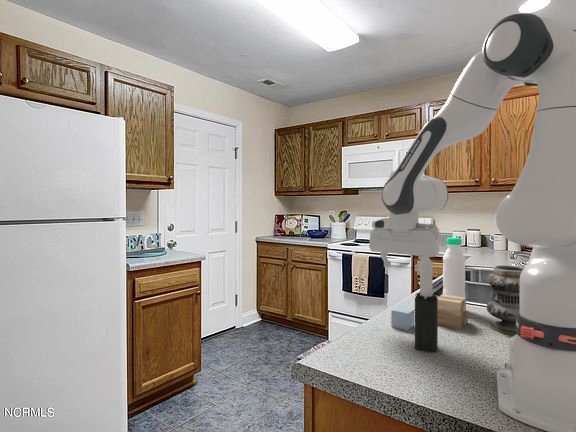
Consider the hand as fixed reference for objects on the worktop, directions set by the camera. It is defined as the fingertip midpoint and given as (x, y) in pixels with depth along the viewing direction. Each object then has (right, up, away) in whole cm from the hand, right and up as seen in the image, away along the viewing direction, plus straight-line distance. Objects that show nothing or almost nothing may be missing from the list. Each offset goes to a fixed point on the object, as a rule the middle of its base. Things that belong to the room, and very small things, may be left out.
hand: (402, 269), depth 104 cm
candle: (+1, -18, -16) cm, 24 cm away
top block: (+15, -13, +2) cm, 21 cm away
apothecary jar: (+30, -17, -3) cm, 35 cm away
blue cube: (0, -17, 0) cm, 17 cm away
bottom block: (+15, -17, +3) cm, 23 cm away
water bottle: (+23, -17, +16) cm, 33 cm away
